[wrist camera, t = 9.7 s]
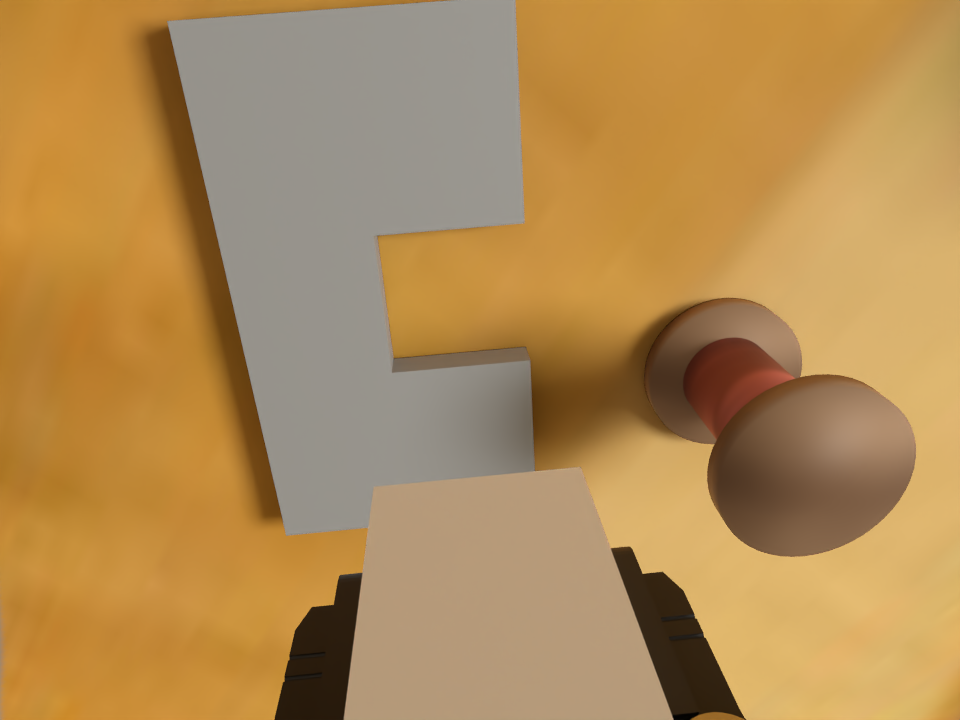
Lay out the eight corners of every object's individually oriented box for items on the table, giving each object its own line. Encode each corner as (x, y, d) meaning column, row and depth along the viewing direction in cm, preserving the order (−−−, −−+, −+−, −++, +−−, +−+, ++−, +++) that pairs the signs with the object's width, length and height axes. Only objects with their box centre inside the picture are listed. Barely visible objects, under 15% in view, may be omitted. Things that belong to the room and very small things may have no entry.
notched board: (181, 22, 25) (167, 21, 23) (510, -2, 25) (515, -5, 24) (292, 516, 34) (286, 535, 32) (532, 492, 34) (536, 511, 33)
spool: (646, 305, 30) (726, 397, 22) (800, 291, 31) (934, 378, 23) (642, 439, 33) (710, 565, 25) (782, 426, 34) (895, 546, 25)
